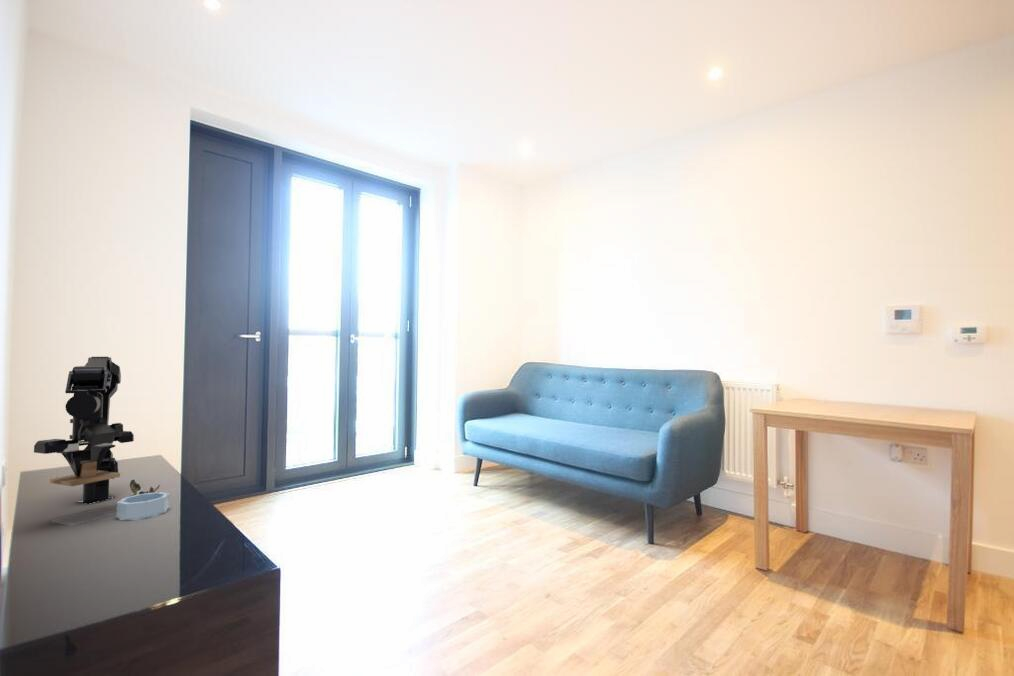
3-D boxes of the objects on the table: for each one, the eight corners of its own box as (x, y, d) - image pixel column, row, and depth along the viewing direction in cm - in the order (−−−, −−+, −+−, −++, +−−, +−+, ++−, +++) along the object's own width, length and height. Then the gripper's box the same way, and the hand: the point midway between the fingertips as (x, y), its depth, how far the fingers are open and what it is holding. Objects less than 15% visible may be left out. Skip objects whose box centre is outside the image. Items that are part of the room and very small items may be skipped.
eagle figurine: (163, 494, 135) (133, 489, 135) (157, 477, 132) (127, 472, 132) (143, 515, 129) (112, 510, 129) (137, 498, 125) (104, 493, 125)
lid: (50, 482, 116) (51, 465, 116) (98, 473, 125) (98, 457, 125) (72, 486, 112) (72, 467, 112) (119, 476, 121) (120, 459, 121)
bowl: (109, 519, 117) (110, 501, 117) (152, 507, 126) (152, 490, 127) (133, 523, 113) (133, 505, 114) (175, 511, 123) (176, 494, 123)
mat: (48, 522, 115) (48, 520, 115) (96, 510, 125) (96, 508, 125) (70, 527, 112) (70, 525, 112) (118, 514, 121) (118, 513, 121)
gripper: (58, 419, 108) (56, 486, 107) (146, 411, 125) (145, 469, 124) (34, 418, 112) (31, 482, 111) (122, 410, 129) (120, 466, 128)
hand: (85, 475), depth 119 cm, fingers closed on lid, 3 cm apart
